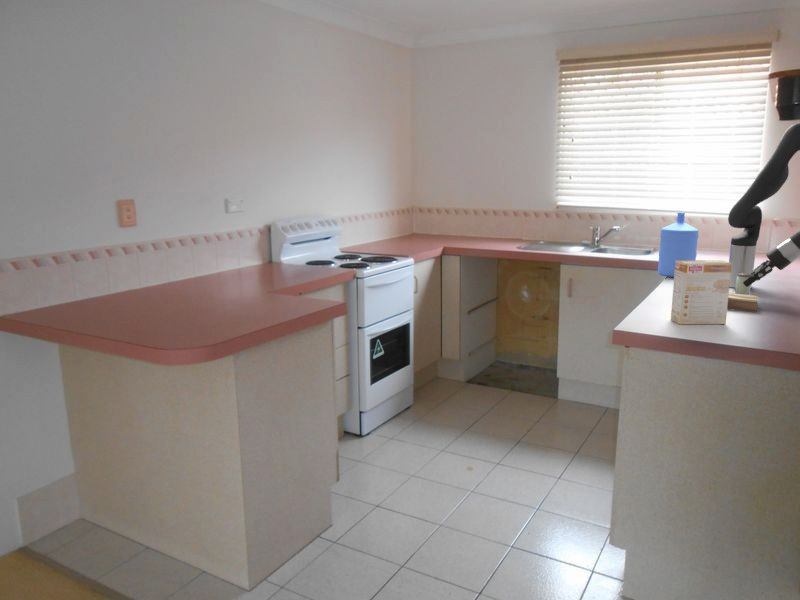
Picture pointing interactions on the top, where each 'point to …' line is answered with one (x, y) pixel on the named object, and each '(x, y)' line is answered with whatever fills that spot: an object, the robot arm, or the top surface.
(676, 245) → the water jug
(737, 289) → the spice jar
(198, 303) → the top surface
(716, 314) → the coffeecake box
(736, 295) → the walnut plinth
